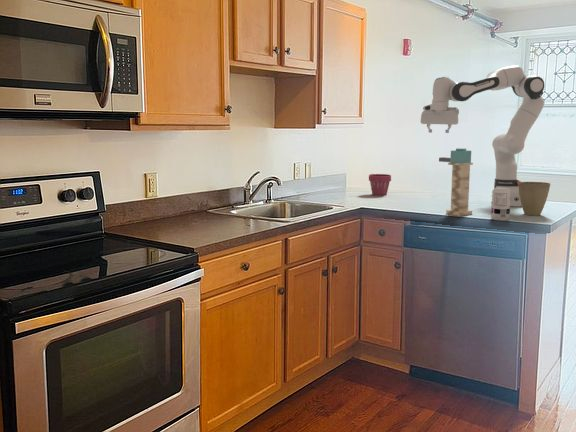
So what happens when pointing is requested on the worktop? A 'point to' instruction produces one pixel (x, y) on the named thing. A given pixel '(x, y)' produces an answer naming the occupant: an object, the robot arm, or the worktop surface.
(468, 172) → the birch stand
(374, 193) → the plant pot
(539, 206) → the plant pot
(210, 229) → the worktop surface
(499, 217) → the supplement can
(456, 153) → the teal cap handle
